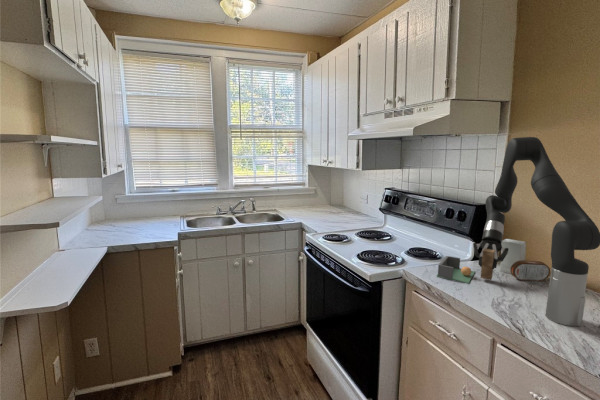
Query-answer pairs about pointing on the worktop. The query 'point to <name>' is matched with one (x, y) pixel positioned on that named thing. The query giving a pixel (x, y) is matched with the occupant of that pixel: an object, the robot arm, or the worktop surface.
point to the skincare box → (512, 253)
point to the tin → (530, 270)
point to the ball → (466, 271)
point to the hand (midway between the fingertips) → (487, 267)
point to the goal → (452, 270)
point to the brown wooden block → (487, 264)
